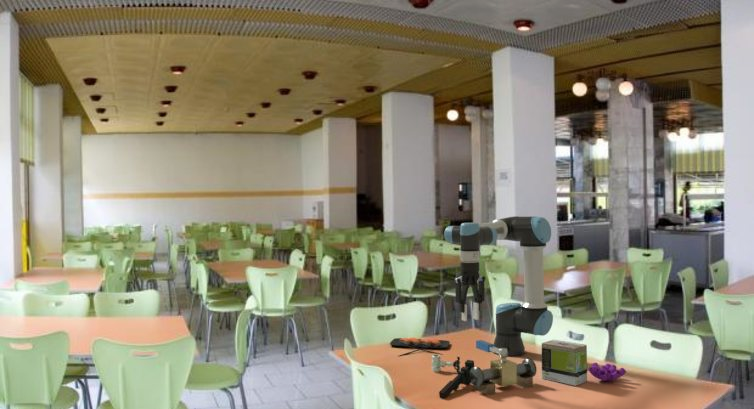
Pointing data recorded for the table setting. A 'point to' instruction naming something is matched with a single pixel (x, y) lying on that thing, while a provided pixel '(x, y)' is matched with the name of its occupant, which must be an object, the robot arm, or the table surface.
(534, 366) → the pipe run
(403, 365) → the table surface
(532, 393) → the table surface
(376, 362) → the table surface
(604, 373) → the purple lumpy cluster
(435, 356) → the valve
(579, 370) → the tea box
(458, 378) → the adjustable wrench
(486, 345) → the lever
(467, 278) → the robot arm
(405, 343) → the sushi plate
